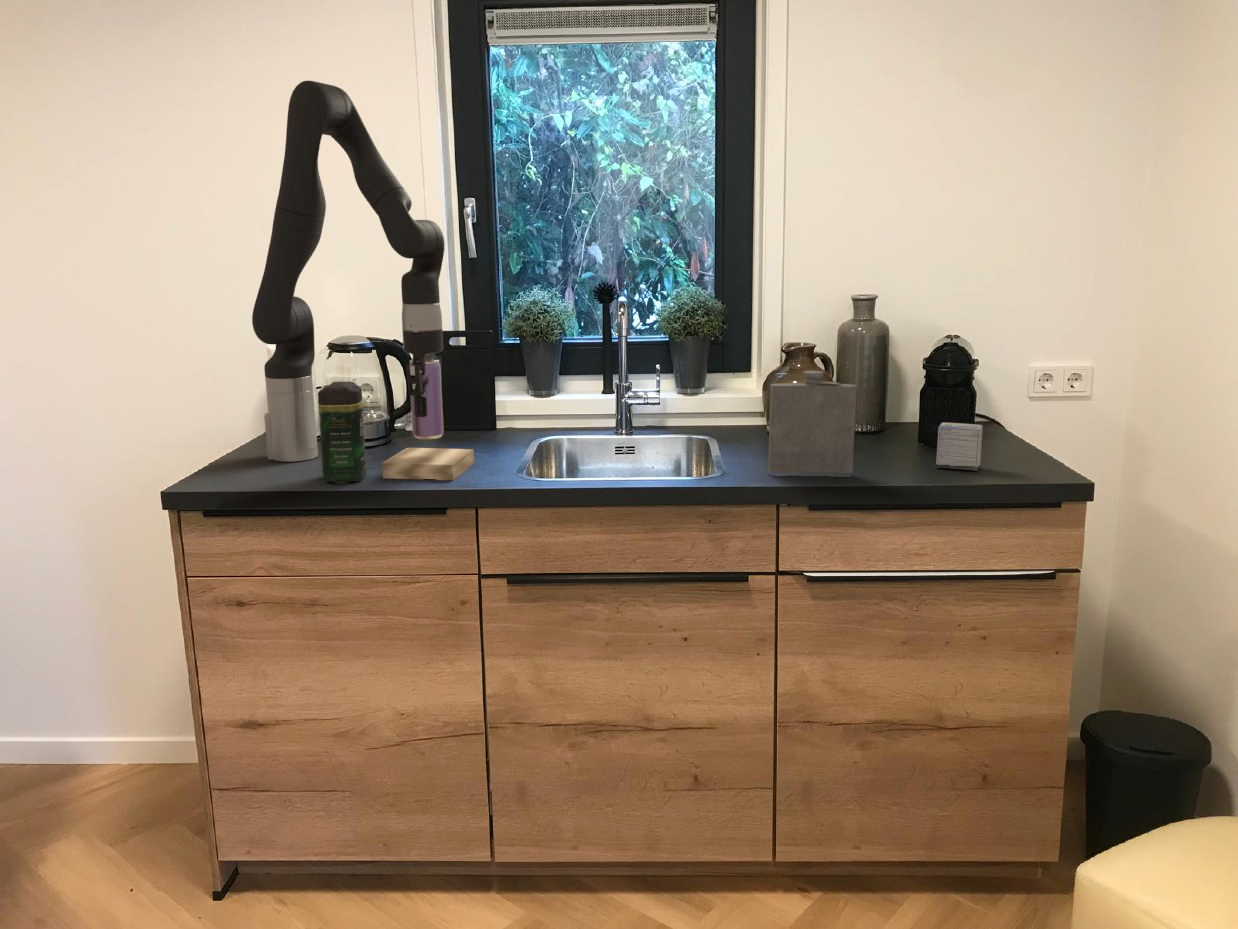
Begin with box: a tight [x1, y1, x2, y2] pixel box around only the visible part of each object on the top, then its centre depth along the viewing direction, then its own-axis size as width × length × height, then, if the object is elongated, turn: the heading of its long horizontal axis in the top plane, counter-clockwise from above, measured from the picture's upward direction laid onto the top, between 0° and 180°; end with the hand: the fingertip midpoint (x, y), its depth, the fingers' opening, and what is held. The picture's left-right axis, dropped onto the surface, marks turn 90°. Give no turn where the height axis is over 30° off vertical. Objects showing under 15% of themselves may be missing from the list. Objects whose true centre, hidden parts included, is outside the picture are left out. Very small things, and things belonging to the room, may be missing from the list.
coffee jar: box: [317, 381, 367, 484], centre depth 193 cm, size 10×8×19 cm
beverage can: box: [409, 359, 444, 440], centre depth 197 cm, size 6×6×15 cm
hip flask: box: [767, 370, 857, 473], centre depth 194 cm, size 16×4×20 cm, turn 84°
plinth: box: [381, 447, 475, 481], centre depth 200 cm, size 14×14×3 cm
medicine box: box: [935, 421, 984, 467], centre depth 199 cm, size 8×4×9 cm, turn 65°
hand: (426, 413), depth 198 cm, fingers closed on beverage can, 6 cm apart
